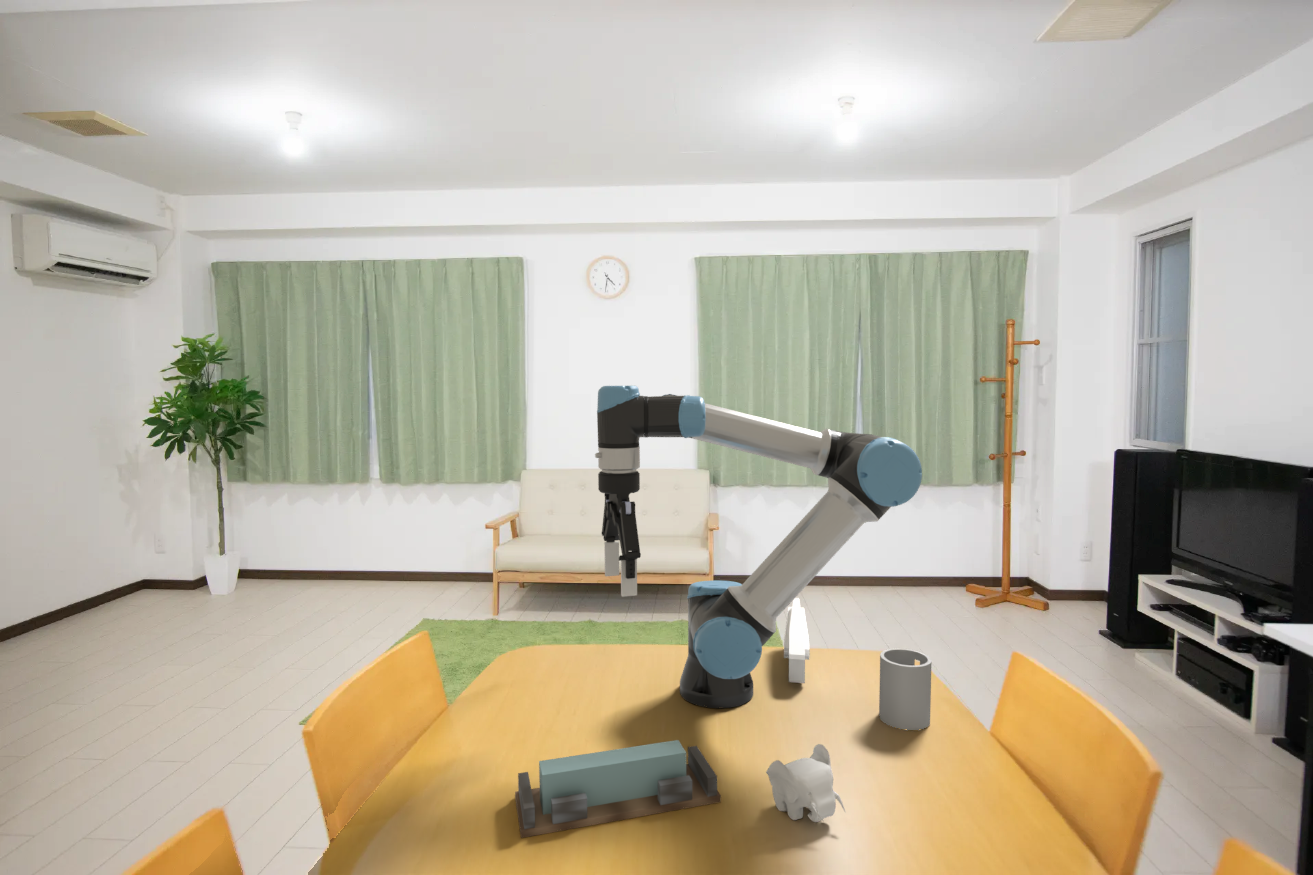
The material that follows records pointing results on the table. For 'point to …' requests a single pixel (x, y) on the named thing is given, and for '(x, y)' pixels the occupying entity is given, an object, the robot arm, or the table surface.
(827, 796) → the elephant figurine
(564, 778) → the rail
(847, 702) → the table surface
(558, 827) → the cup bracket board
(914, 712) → the cup
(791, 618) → the shelf bracket
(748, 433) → the robot arm
